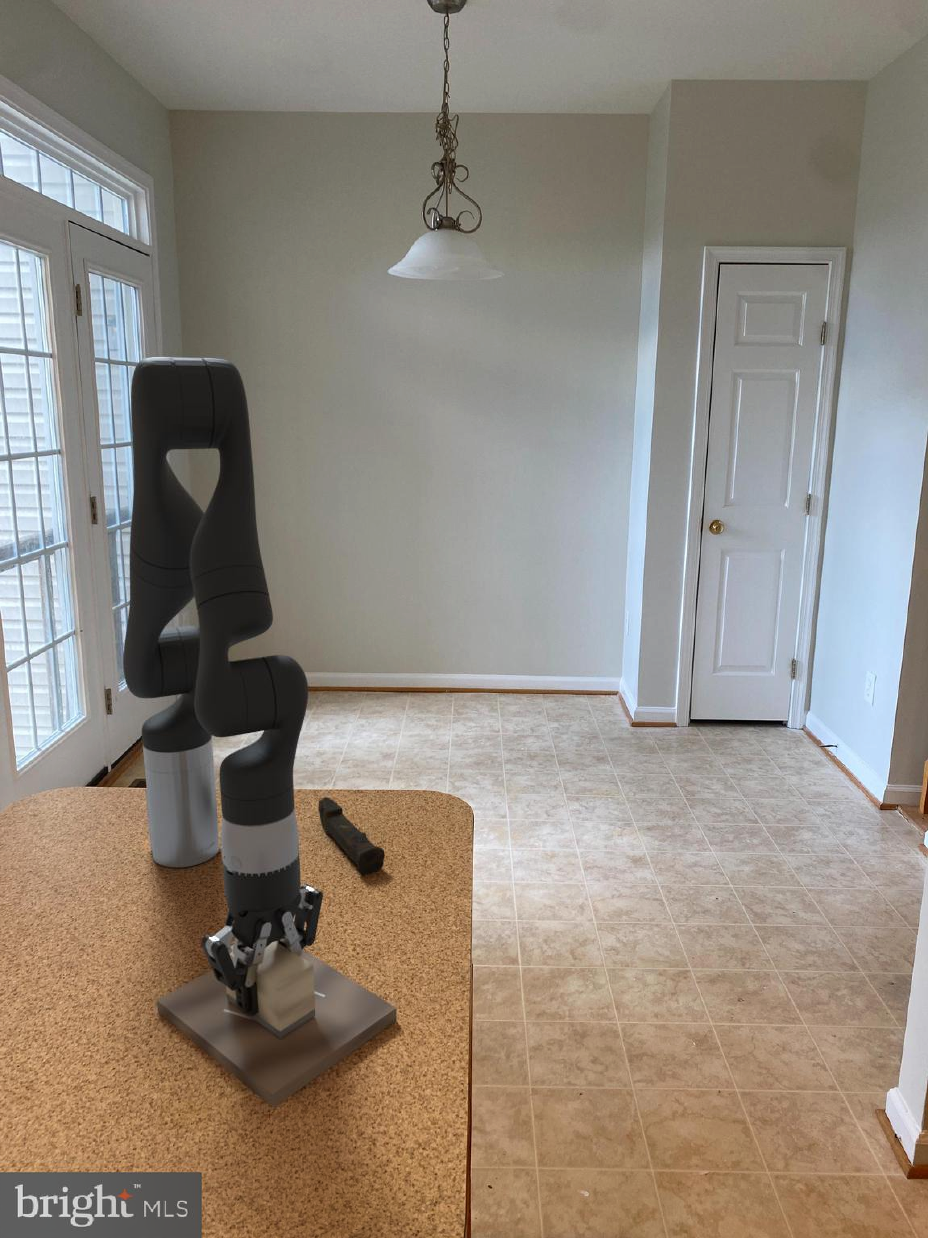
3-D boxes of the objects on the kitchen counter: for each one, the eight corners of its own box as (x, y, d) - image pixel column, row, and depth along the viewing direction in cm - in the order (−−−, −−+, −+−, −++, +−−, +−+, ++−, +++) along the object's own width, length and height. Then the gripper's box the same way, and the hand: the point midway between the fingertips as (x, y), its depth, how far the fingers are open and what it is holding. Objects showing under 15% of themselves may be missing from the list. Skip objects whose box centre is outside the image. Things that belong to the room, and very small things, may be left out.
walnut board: (157, 1012, 96) (156, 1000, 95) (279, 945, 107) (278, 934, 107) (273, 1108, 83) (272, 1094, 83) (396, 1020, 95) (396, 1008, 94)
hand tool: (386, 872, 124) (385, 841, 123) (359, 879, 122) (358, 848, 121) (338, 817, 140) (337, 789, 139) (313, 822, 139) (312, 794, 138)
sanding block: (227, 999, 95) (223, 950, 94) (261, 979, 98) (258, 931, 97) (280, 1038, 89) (277, 986, 88) (315, 1015, 93) (313, 964, 91)
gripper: (293, 815, 97) (300, 954, 101) (176, 866, 87) (189, 1018, 91) (340, 837, 92) (344, 981, 97) (222, 894, 82) (233, 1053, 86)
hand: (269, 998), depth 94 cm, fingers closed on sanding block, 4 cm apart
